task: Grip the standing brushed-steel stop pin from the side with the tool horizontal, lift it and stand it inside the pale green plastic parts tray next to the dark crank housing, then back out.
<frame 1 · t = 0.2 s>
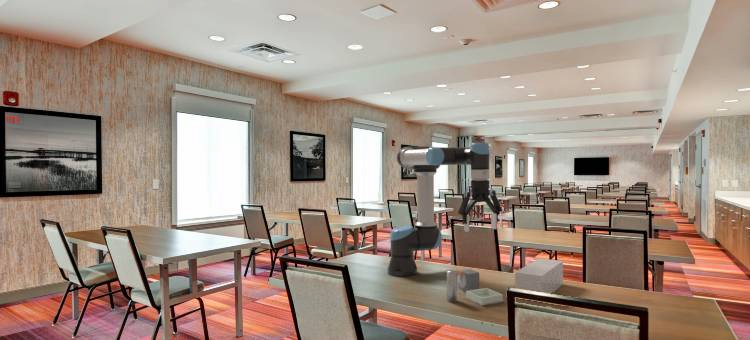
hand: (480, 230, 182), 27 cm above the table, tool pointing down, fingers open, 13 cm apart
stop pin: (452, 300, 175), on the table
light grey block: (540, 291, 188), on the table
parts tray: (484, 300, 175), on the table
crank housing: (469, 289, 190), on the table
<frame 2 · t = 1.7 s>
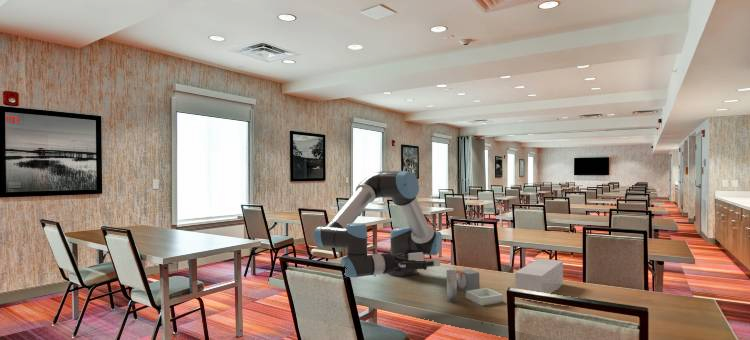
hand: (430, 258, 172), 18 cm above the table, tool horizontal, fingers open, 13 cm apart
nothing on the table moved.
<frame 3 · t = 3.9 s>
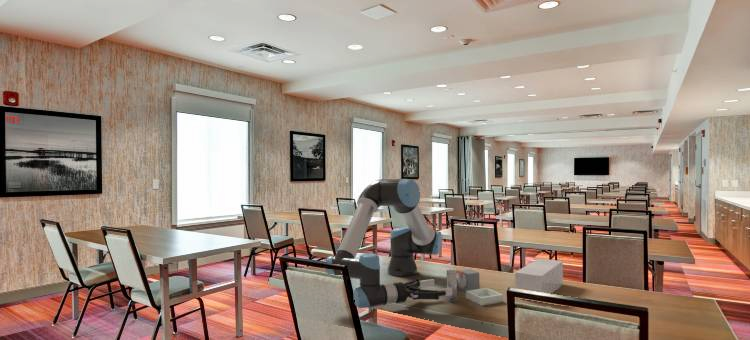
hand: (442, 286, 173), 6 cm above the table, tool horizontal, fingers open, 13 cm apart
nothing on the table moved.
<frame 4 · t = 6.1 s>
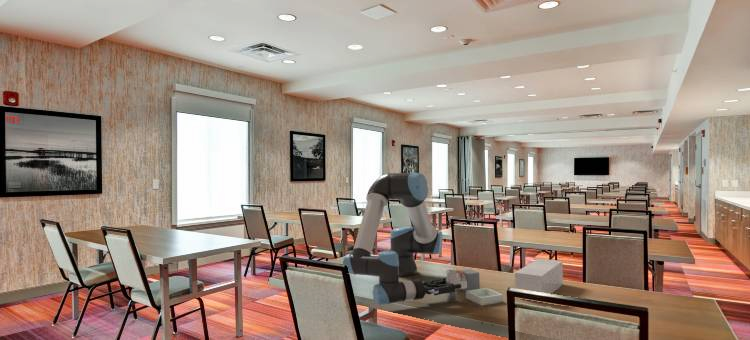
hand: (463, 283, 177), 7 cm above the table, tool horizontal, fingers closed on stop pin, 4 cm apart
stop pin: (452, 300, 175), on the table, touching gripper
everything else where it was.
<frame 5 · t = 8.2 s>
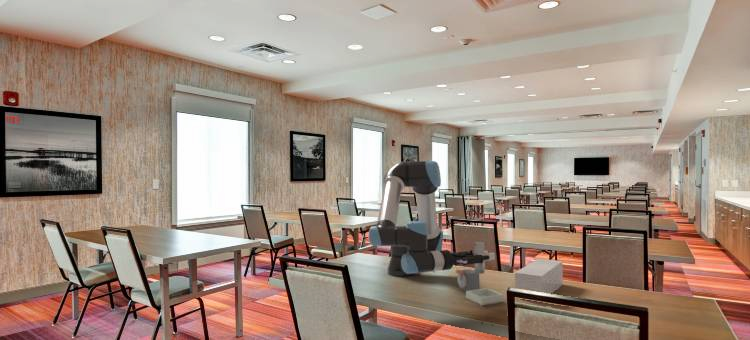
hand: (490, 255, 176), 18 cm above the table, tool horizontal, fingers closed on stop pin, 4 cm apart
stop pin: (479, 272, 175), point 11 cm above the table, touching gripper
everything else where it was.
when the fingers open (9 cm above the table, at t = 10.3 s): stop pin drops 1 cm, resting on parts tray.
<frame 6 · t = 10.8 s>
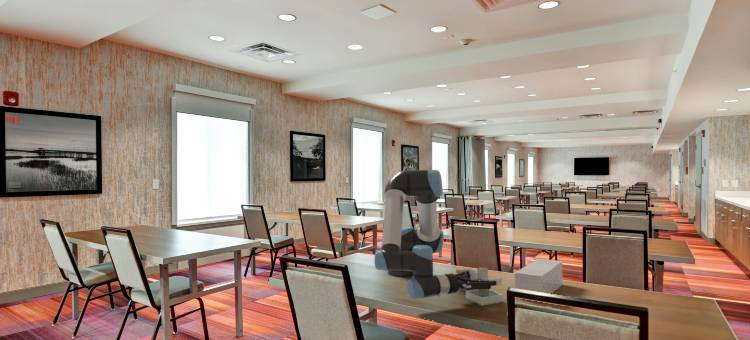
hand: (492, 277, 177), 9 cm above the table, tool horizontal, fingers open, 11 cm apart
stop pin: (484, 298, 175), point 1 cm above the table, touching parts tray
everything else where it was.
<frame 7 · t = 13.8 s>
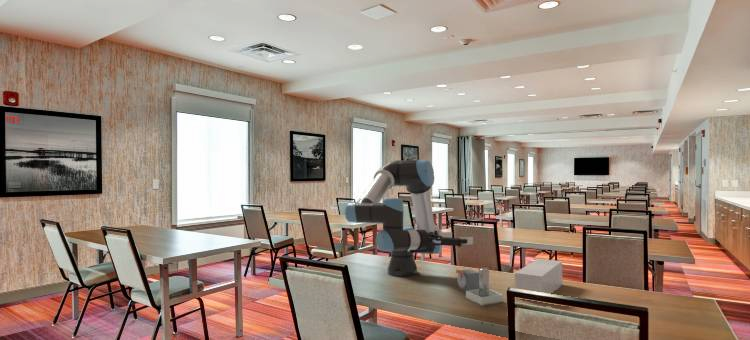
hand: (461, 238, 173), 26 cm above the table, tool horizontal, fingers open, 13 cm apart
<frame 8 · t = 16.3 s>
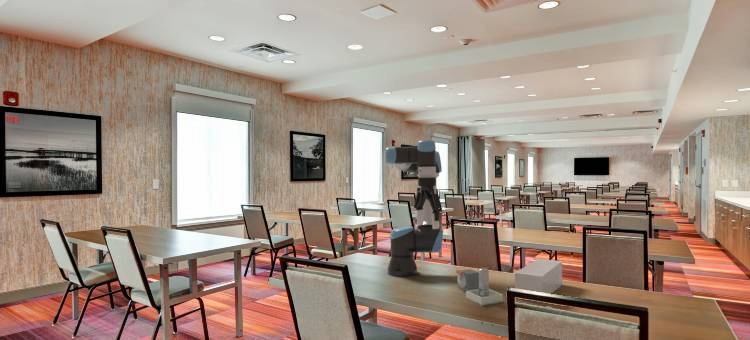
hand: (427, 226, 185), 29 cm above the table, tool pointing down, fingers open, 13 cm apart
nothing on the table moved.
at the end: stop pin inside the target area on the parts tray (0.0 cm from its centre), point 0.6 cm above the parts tray's base; stop pin tilted 1°; the gripper is holding nothing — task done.
